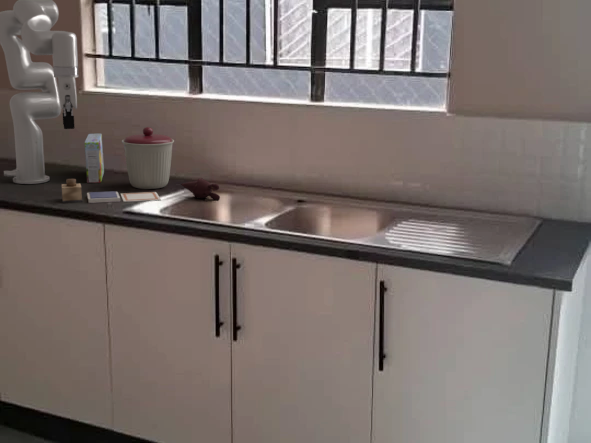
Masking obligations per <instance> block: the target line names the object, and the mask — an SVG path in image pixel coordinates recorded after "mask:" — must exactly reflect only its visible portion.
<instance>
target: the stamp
mask: <svg viewBox="0 0 591 443" xmlns="http://www.w3.org/2000/svg"><path fill="white" fill-rule="evenodd" d="M65 182H66V183H61V200H62V203H63V204H66V203H67V204H68V203H83V197H82V196H83V195H82V194H83V193H82V185H81V183H77V179H76V178H66V181H65Z"/></svg>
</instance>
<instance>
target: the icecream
mask: <svg viewBox="0 0 591 443" xmlns="http://www.w3.org/2000/svg"><path fill="white" fill-rule="evenodd" d="M180 185H181V186H182V187H183V188H185V189H186V190H187V191H189V192H190V193H192V195H193V196H194V197H195V198H194V199H203V200H204V199H206V198H208V197H210V198H211V199H213V200H215V201H218V200H220V198H221V197H220V195H219V194H217V193H215V191H218V190H219V189H220V185H219V184H218V183H210V181H208V180H206V179H203V177H200V178H198V179H197V180H194V181H188V182H183V183H181V184H180ZM212 191H214V192H212Z"/></svg>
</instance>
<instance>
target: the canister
mask: <svg viewBox="0 0 591 443" xmlns="http://www.w3.org/2000/svg"><path fill="white" fill-rule="evenodd" d="M121 143H122V144H123V148H124V156H125V162H126V170H127V174H128V176H127V177H128V180H129V183H130V185H131V186H132V187H133V188H136V189H141V190H155V189H156V190H157V189H160V188H161V189H162V188H164V187H166V186H167V185H168V183H169V179H170V176H171V175H170V174H171V173H170V172H171V167H172V166H171V164H172V154H173V144H174V143H175V140H174V139H173V138H171V136H168V135H164V134H159V133H158V134H156V133H154V129H153V128H152V127H149V126H147V127H144V128H143V130H142V133H140V134H132V135H129V136H126V137H125V138H123V139H122V140H121Z"/></svg>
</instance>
